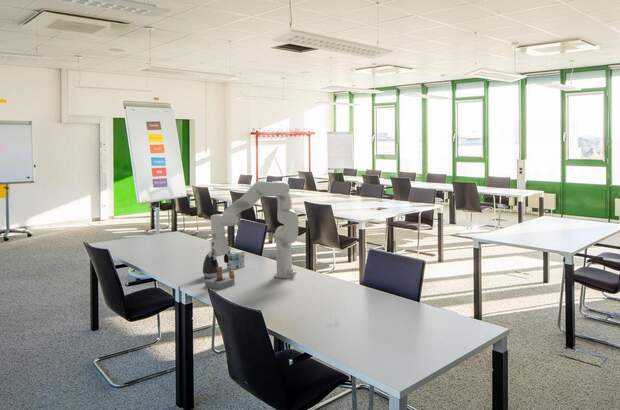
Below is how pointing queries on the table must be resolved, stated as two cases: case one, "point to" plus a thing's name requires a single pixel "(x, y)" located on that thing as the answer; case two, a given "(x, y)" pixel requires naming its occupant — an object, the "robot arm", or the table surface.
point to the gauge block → (219, 283)
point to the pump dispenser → (209, 268)
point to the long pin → (219, 274)
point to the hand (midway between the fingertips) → (220, 264)
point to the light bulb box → (236, 259)
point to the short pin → (231, 274)
